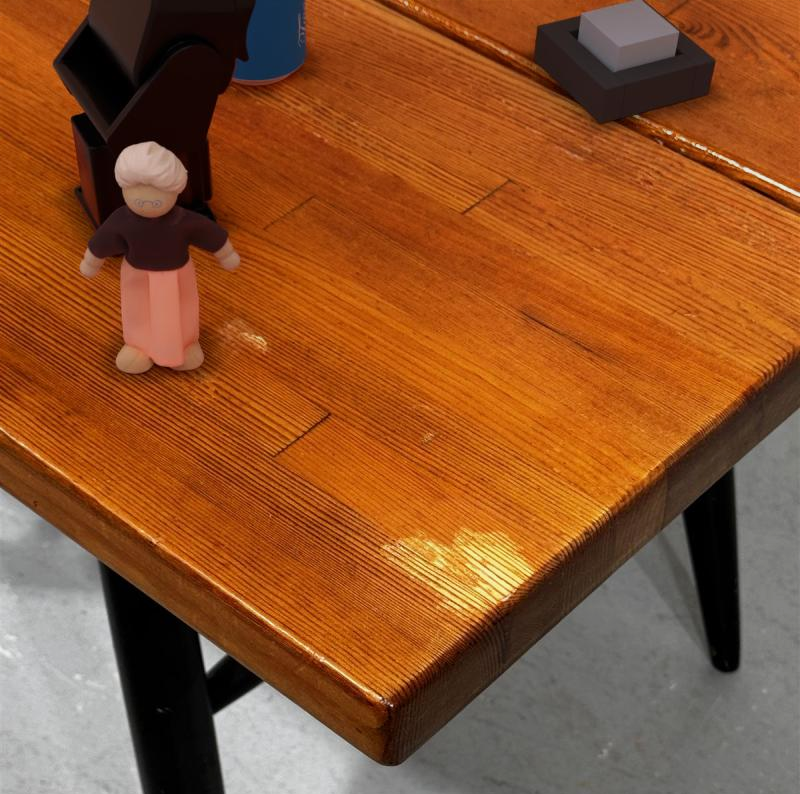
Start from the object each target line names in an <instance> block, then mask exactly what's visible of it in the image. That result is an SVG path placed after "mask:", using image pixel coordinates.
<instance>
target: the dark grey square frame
mask: <svg viewBox="0 0 800 794" xmlns="http://www.w3.org/2000/svg"><path fill="white" fill-rule="evenodd" d="M642 1H643V2H645V3H646V4H647V5H648V6H649V7H651V8H652V9H653V10H654V11H655V12H656V13H658V14H659V15H660V16H661V17H662V18H664V19H665V20H666V21H667V22H668V23H670V24H671V25H672V26H673V27H674V28H676V29H677V30H678V31H679V36H678V42H677V47H676V52H675V56H674V57H670V58H666V59H662V60H659V61H655V62H651V63H647V64H643V65H639V66H636V67H632V68H628V69H624V70H620V71H616V72H614V73H613V72H612V71H611V70H610V69H608V68H607V67H606V66H605V65H604V64H603V63H602V62H601V61H600V60H599V59H597V58H596V57H595V56H594V55H593V54H592V53H591V52H590V51H589V50H588V49H586V48H585V47H584V46H583V45H582V44H581V43H580V42H579V41H578V35H579V28H580V20H581V14H580V15H577V16H573V17H568V18H564V19H560V20H557V21H551V22H547V23H544V24H543V23H542V24H539V25H537V26H536V32H535V33H536V34H535V44H534V51H533V61H534V62H535V63H536V64H537V65H538V66H539V67H540V68H542V70H543V71H544V72H546V73H547V74H548V76H550V77H551V78H552V79H553V80H554V81H555V82H556V83H557V84H558V85H559V86H560V87H561V88H562V89H564V91H565V92H567V94H569V95H570V96H571V98H573V99H574V100H575V102H577V104H579V105H580V106H581V107H582V108H583V109H584V110H585V111H586V112H587V113H588V114H589V115H590V116H592V117H593V118H594V119H595V120H596V121H597V123H598V124H605V123H608V122H613V121H616V120H619V119H624V118H627V117H631V116H635V115H638V114H643V113H645V112H646V113H647V112H649V111H653V110H657V109H660V108H665V107H668V106H672V105H675V104H678V103H682V102H686V101H689V100H693V99H696V98H701V97H704V96H707V95H710V91H711V85H712V81H713V75H714V71H715V68H716V67H715V66H716V63H717V62H716V58H714V57H713V56H712V55H710V54H709V53H708V52H707V51H706V50H705V49H703V48H702V47H701V46H700V45H699V44H698V43H696V42H695V41H694V40H692V39H691V38H690V37H689V36H688V35H687V34H685V33H684V32H683V31H681V30H680V29H679V28H678V27H677V26H675V25H674V23H672V22H671V21H669V19H667V18H666V17H665V16H663V14H662V13H660V12H659V11H657V10H656V9H655V8H654V7H653V6H652V5H650V4H649V3H648V2H647V1H646V0H642Z"/></svg>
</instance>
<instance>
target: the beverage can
mask: <svg viewBox="0 0 800 794" xmlns="http://www.w3.org/2000/svg"><path fill="white" fill-rule="evenodd" d="M306 18H307V17H306V0H256V3H255V7H254V10H253V13H252V16H251V19H250V22H249V25H248V29H247V37H246V46H247V51H248V55H249V60H248V61H247V62H243V61H241V60H240V59H238V58H237V62H236V69H235V72H234V75H233V78H232V81H231V82H232V83H233V82H234V83H237V84H240V85H244V86H245V85H246V86H266V85H272V84H275V83H278V82H281V81H283V80H285V79H286V78H288V77H289V76H290V75H291V74H293V73H295V72H296V71H298V70H299V68H301V67H302V65H303V64H304V63H305V61H306V58H307V30H306V29H307V27H306V25H307V24H306Z"/></svg>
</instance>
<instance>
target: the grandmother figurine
mask: <svg viewBox="0 0 800 794" xmlns="http://www.w3.org/2000/svg"><path fill="white" fill-rule="evenodd" d="M187 173H188V171H187V170H186V169H185V168H184V166H183V164H182V163H181V161H180V160H179V159H178V158H177V157H176V156H175V155H174V154H173V153H172V152H171V151H169V150H167V149H165V148H164V147H161V146H160V145H158V144H157V143H156V142H146V143H140V144H137V145H132V146H129V147H127V148H125V149H124V150H123V151H122V153H121V154H120V156H119V157H118V159H117V162H116V166H115V177H116V181H117V182H118V184H119V186H120V187H122V191H123V196H124V199H125V202H126V203H127V205H124V206H122V207H120V208H118V209H116V210H115V211H114V212H113V213H112V214H111V215H110V216H109V217H108V219H107V220H106V221H105V222H104V223H103V224H102V225H101V226H100V227H99V229H98V230H97V231H96V232H95V231H94V234H93V235H92V236H91V237H90V238H89V239H88V243H87V248H86V250H85V252H84V254H83V255H84V257H83V259H82V260H81V262H80V263H79V272H80V273H81V275H82V276H83V277H85V278H88V279H94V278H96V277H98V276H99V275H100V273H101V271H102V266H103V265H104V264H105V262H106V259H107V258H109V257H111V256H117V255H116V254H120V255H122V254H121V253H123V258H122V261H121V264H120V274H119V275H120V279H119V281H120V285H119V287H120V288H119V289H120V306H121V307H120V308H121V324H122V334H123V335H122V336H123V341H124V345H123V346H122V348H121V349H120V350H119V352H118V354H117V355H116V358H115V365H116V367H117V368H118V370H119V371H121V372H123V373H127V374H137V375H138V374H142V373H145V372H147V371H149V370H150V369H151V368H152V367H153V366H154V364H156V365H158V366H159V367H166V368H170V369H172V370H173V371H179V372H180V371H181V372H182V371H192V370H195V369H198V368H200V366H202V365H203V363H204V362H205V355H204V352H203V349H202V347H201V345H200V341H199V339H200V300H199V299H200V298H199V297H200V296H199V290H198V281H197V275H196V274H197V273H196V268H195V264H194V261H193V258H192V256H191V253H190V252H189V247H190V246H193V247H195V248H197V249H200V250H202V251H204V252H207V253H210V254H212V255H213V256H214V257H215V258H216V259H218V263H219V265H220V267H221V268H222V269H223V270H224V271H225V270H226V271H227V272H232V271H236V270H237V269H238V268H239V267H240V265H241V257H240V254H239V253H238V252H237V251H236V250H234V247H233V244H232V243H231V241H230V239H229V231H228V230H227V229H226V228H224V227H223V226H221V225H220V224H218V223H217V224H216V223H215V222H213V221H212V220H210V219H209V218H207V217H205V216H204V215H201V214H199V213H196V212H193V211H190V210H187V209H184V208H182V207H180V206H178V205H175V202H176V200H177V196H178V194H179V193H181V192H182V190H183V189H184V188H185V186H186V183H187Z"/></svg>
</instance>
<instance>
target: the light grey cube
mask: <svg viewBox="0 0 800 794" xmlns="http://www.w3.org/2000/svg"><path fill="white" fill-rule="evenodd" d="M580 15H581V20H580V28H579V35H578V41H579V42H580V43H581V44H582V45H583V46H584V47H585V48H586V49H588V50H589V51H590V52H591V53H592V54H593V55H594V56H595V57H596V58H597V59H599V60H600V61H601V62H602V63H603V64H604V65H605V66H606V67H607V68H608V69H610V70H611V71H612V72H613V73H614V72H616V71H620V70H624V69H628V68H632V67H636V66H639V65H643V64H647V63H651V62H655V61H659V60H662V59H666V58H670V57H674V56H675V52H676V47H677V42H678V36H679V31H678V30H677V29H676V28H674V27H673V26H672V25H671V24H670V23H668V22H667V21H666V20H665V19H664V18H662V17H661V16H660V15H659V14H658V13H656V12H655V11H654V10H653V9H652V8H651V7H649V6H648V5H647V4H646V3H645V2H643V1H642V0H630V1H625V2H621V3H617V4H613V5H609V6H605V7H601V8H596V9H593V10H588V11H585V12H581V14H580Z"/></svg>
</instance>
